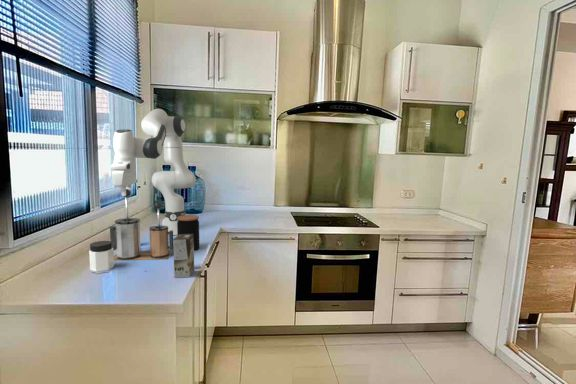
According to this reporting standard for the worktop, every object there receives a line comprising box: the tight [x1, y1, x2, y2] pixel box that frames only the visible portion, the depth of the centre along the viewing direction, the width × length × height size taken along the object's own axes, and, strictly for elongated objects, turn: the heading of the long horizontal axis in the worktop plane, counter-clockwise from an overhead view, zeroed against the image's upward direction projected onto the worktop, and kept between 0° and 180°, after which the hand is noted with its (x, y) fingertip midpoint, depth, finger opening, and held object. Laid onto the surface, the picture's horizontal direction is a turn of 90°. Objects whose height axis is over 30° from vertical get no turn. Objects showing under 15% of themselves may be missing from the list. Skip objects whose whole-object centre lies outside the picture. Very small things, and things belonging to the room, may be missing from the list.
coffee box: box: [173, 234, 195, 278], centre depth 137 cm, size 9×6×16 cm
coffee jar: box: [177, 214, 200, 252], centre depth 168 cm, size 11×11×18 cm
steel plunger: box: [123, 189, 132, 221], centre depth 153 cm, size 7×7×22 cm
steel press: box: [109, 217, 142, 261], centre depth 154 cm, size 10×12×18 cm
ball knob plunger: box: [154, 201, 163, 228], centre depth 155 cm, size 6×6×17 cm
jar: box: [88, 240, 115, 275], centre depth 139 cm, size 9×8×12 cm
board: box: [114, 249, 174, 262], centre depth 157 cm, size 14×26×1 cm, turn 98°
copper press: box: [148, 225, 174, 258], centre depth 157 cm, size 8×10×14 cm
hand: (126, 194), depth 152 cm, fingers closed on steel plunger, 4 cm apart
